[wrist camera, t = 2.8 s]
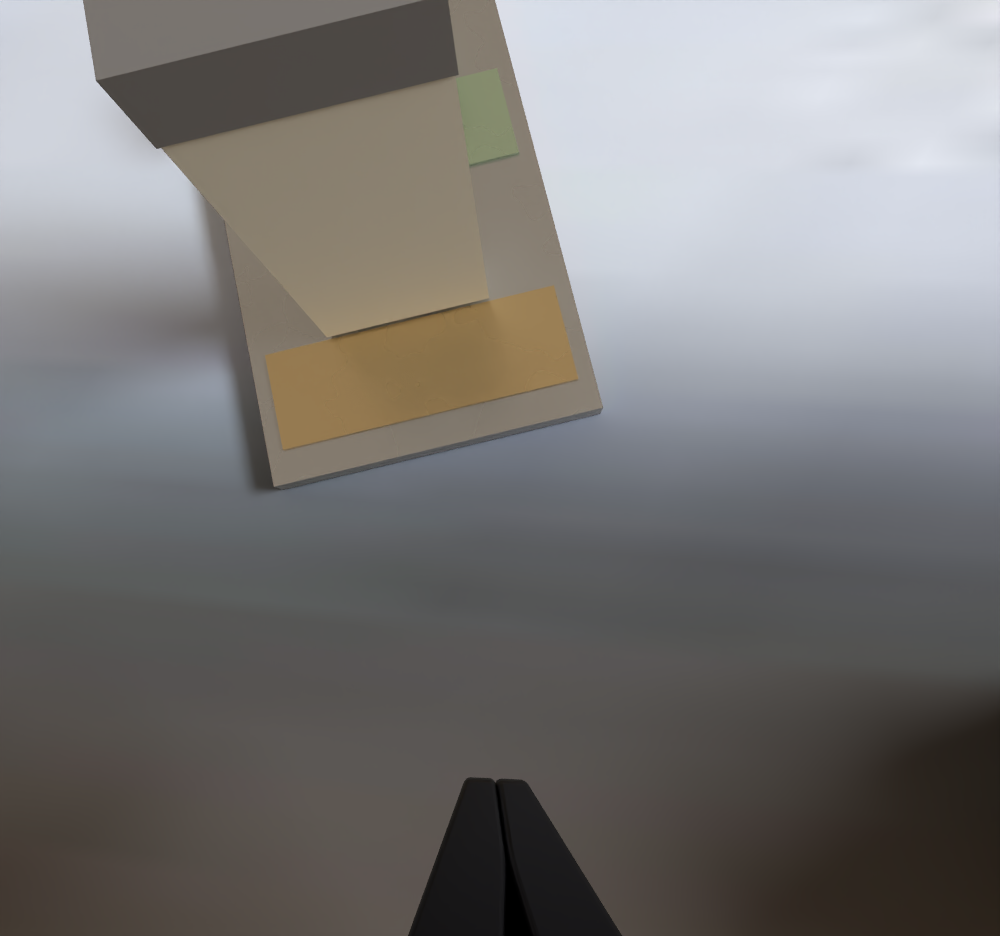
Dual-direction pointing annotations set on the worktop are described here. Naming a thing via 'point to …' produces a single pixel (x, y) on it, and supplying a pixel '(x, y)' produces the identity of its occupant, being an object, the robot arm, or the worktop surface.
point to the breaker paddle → (312, 140)
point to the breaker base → (433, 317)
